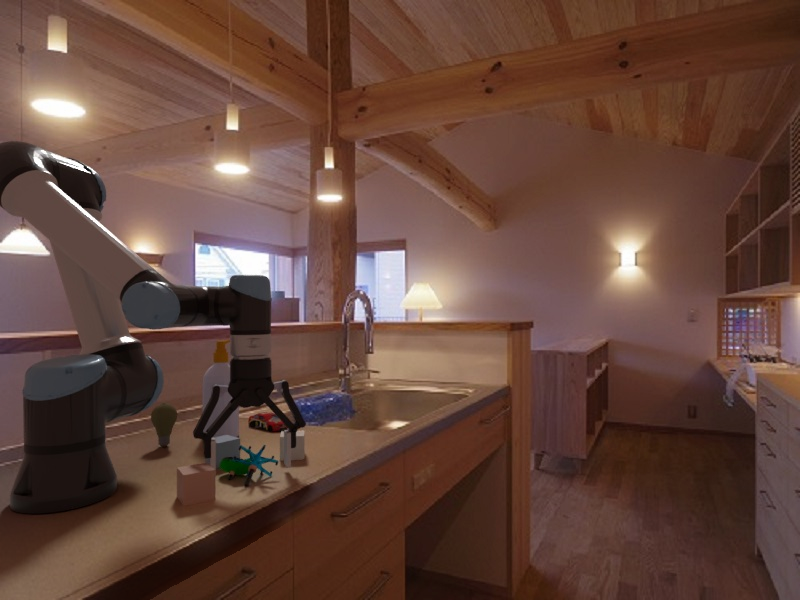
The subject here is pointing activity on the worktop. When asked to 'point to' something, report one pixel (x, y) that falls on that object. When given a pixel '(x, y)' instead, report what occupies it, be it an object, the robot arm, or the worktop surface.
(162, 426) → the light bulb
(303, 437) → the cream cube
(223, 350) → the soap bottle
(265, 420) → the race car
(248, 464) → the stick construction toy
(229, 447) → the slate blue cube
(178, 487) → the terracotta cube
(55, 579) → the worktop surface
